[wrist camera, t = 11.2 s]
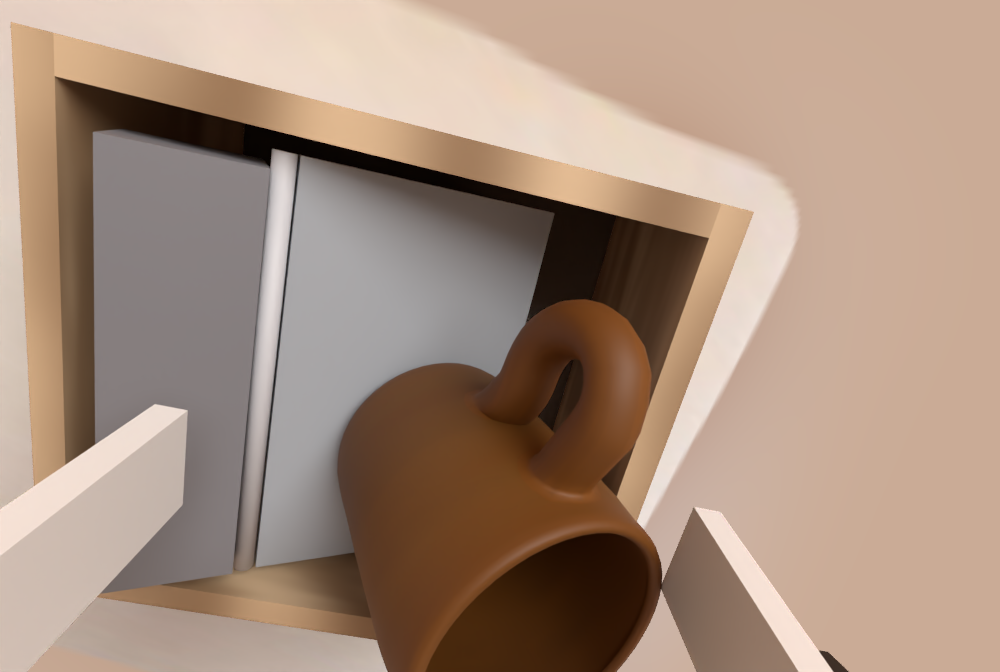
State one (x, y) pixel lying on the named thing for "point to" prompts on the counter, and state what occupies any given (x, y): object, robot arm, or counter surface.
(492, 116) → the counter surface
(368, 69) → the counter surface
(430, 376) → the mug
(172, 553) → the trapdoor
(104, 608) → the counter surface
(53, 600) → the robot arm
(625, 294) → the trapdoor frame
